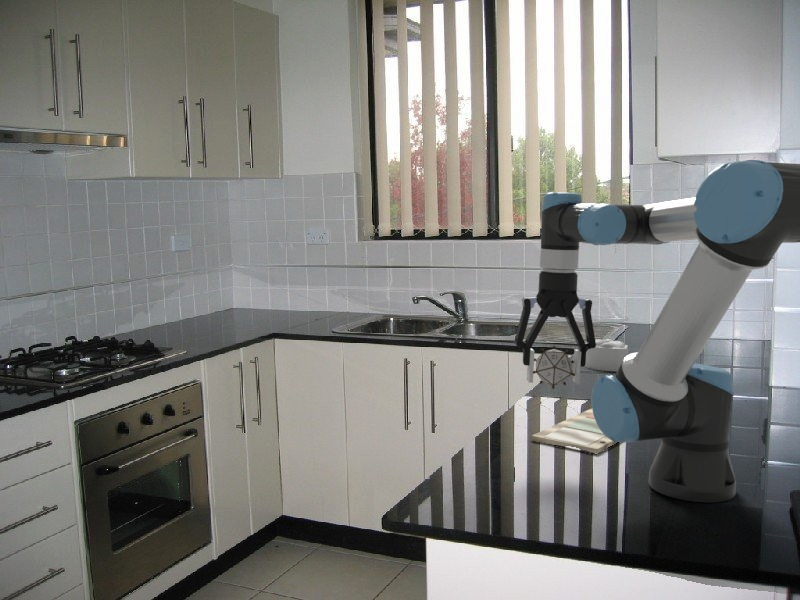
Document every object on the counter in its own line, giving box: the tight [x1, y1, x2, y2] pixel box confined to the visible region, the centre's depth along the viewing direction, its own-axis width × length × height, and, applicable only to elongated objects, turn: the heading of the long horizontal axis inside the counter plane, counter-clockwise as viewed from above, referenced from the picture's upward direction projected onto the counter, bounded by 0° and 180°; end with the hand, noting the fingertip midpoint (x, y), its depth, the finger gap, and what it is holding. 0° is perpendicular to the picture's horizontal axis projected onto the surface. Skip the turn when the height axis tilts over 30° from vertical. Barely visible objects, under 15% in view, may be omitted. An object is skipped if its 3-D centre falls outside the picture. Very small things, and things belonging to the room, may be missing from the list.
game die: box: [533, 344, 575, 390], centre depth 170 cm, size 9×8×10 cm
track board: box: [531, 407, 618, 455], centre depth 192 cm, size 35×15×1 cm, turn 144°
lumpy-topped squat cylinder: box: [584, 338, 629, 373], centre depth 266 cm, size 10×13×9 cm
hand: (553, 381), depth 170 cm, fingers closed on game die, 9 cm apart
